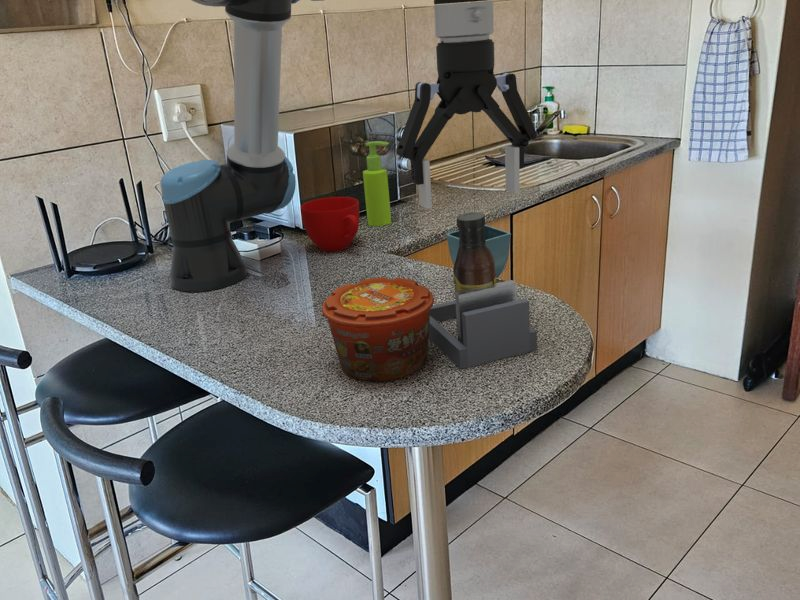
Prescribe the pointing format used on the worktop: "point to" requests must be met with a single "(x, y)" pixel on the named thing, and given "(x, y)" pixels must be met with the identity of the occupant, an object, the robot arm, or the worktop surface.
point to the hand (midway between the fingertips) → (469, 199)
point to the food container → (380, 328)
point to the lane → (484, 332)
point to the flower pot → (495, 243)
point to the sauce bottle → (473, 254)
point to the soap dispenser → (376, 188)
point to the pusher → (482, 300)
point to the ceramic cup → (331, 221)
